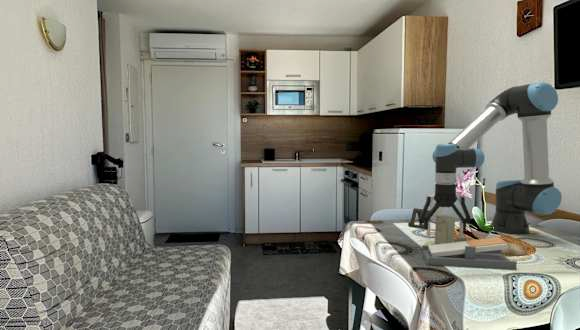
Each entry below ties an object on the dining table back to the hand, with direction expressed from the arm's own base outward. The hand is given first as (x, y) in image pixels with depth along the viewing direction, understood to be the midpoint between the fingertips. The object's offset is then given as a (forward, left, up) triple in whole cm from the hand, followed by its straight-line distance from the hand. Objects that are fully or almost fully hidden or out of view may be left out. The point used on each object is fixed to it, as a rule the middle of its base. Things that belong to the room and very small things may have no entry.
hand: (444, 238), depth 146 cm
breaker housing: (-4, +16, -3) cm, 17 cm away
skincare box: (0, 0, -3) cm, 3 cm away
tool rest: (-22, +2, -3) cm, 22 cm away
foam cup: (-5, -46, -3) cm, 46 cm away
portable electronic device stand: (+5, -33, -4) cm, 34 cm away
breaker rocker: (-4, +16, +1) cm, 17 cm away
